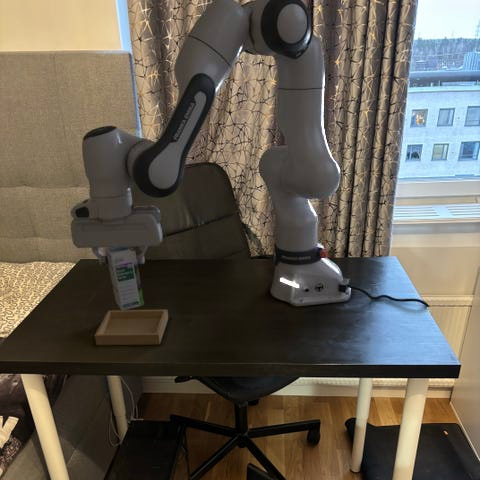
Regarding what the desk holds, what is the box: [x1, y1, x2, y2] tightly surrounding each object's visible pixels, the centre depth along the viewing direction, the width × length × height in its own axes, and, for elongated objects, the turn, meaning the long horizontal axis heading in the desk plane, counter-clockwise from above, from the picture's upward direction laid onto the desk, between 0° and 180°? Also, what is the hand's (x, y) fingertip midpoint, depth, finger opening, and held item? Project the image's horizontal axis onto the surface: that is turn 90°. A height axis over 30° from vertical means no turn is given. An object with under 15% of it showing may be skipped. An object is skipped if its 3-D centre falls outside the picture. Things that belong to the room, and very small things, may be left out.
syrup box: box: [104, 247, 145, 311], centre depth 118 cm, size 6×6×14 cm
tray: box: [94, 309, 169, 346], centre depth 125 cm, size 16×13×3 cm
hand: (122, 263), depth 116 cm, fingers closed on syrup box, 7 cm apart
